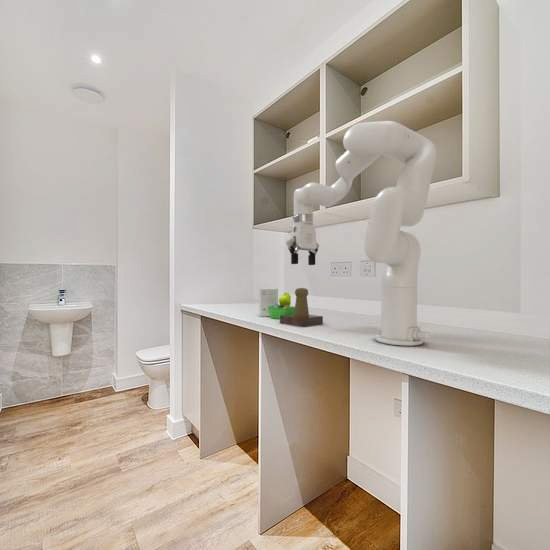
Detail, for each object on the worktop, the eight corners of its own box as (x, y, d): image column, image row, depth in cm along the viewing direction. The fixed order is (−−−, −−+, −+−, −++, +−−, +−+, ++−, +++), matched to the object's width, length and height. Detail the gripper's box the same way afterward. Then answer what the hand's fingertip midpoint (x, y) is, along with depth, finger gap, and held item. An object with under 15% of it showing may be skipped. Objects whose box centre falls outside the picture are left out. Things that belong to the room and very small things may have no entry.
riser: (322, 323, 123) (322, 316, 123) (301, 326, 115) (301, 318, 115) (300, 320, 132) (300, 313, 132) (279, 323, 124) (279, 315, 124)
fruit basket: (266, 318, 139) (266, 292, 139) (279, 316, 145) (279, 292, 146) (286, 320, 131) (286, 293, 131) (299, 318, 138) (299, 293, 138)
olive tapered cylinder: (303, 317, 119) (304, 288, 119) (290, 315, 123) (291, 288, 123) (311, 315, 124) (312, 288, 124) (299, 314, 127) (299, 287, 127)
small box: (275, 314, 151) (276, 288, 151) (277, 316, 145) (278, 288, 145) (259, 315, 150) (259, 287, 150) (260, 316, 143) (260, 288, 144)
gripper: (294, 216, 113) (294, 263, 113) (325, 222, 125) (325, 265, 124) (280, 219, 119) (280, 264, 118) (311, 224, 130) (311, 265, 130)
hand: (303, 264), depth 121 cm, fingers open, 9 cm apart
